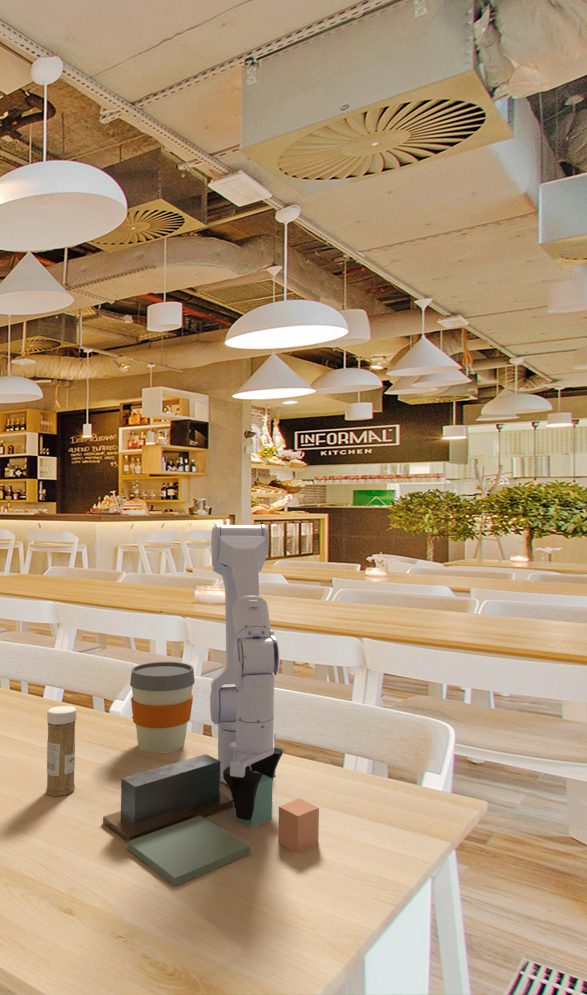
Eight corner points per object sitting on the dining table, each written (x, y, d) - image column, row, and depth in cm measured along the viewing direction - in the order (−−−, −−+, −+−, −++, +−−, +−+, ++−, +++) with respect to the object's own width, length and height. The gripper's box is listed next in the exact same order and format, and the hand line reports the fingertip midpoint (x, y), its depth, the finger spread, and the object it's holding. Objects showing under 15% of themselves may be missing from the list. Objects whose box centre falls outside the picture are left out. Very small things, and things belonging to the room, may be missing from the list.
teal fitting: (255, 809, 104) (255, 770, 104) (271, 818, 101) (272, 778, 101) (234, 817, 102) (235, 777, 102) (251, 826, 99) (251, 785, 99)
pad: (199, 822, 100) (199, 815, 100) (250, 853, 91) (250, 846, 91) (126, 849, 92) (127, 841, 92) (174, 886, 83) (175, 877, 83)
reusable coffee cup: (197, 753, 128) (199, 674, 128) (130, 759, 124) (131, 678, 124) (189, 732, 140) (190, 660, 140) (127, 737, 136) (128, 663, 136)
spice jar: (78, 793, 109) (80, 710, 109) (49, 799, 107) (51, 714, 107) (70, 783, 113) (72, 703, 113) (42, 789, 110) (44, 707, 111)
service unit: (203, 790, 111) (204, 747, 111) (233, 806, 105) (233, 761, 105) (103, 823, 99) (103, 775, 99) (129, 843, 93) (130, 793, 93)
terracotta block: (298, 833, 97) (299, 798, 97) (318, 843, 94) (318, 807, 94) (278, 842, 94) (278, 806, 94) (297, 853, 91) (298, 816, 91)
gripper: (247, 701, 110) (246, 785, 110) (211, 728, 96) (209, 824, 96) (288, 706, 108) (287, 791, 107) (257, 734, 94) (255, 832, 94)
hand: (253, 807), depth 101 cm, fingers open, 7 cm apart
